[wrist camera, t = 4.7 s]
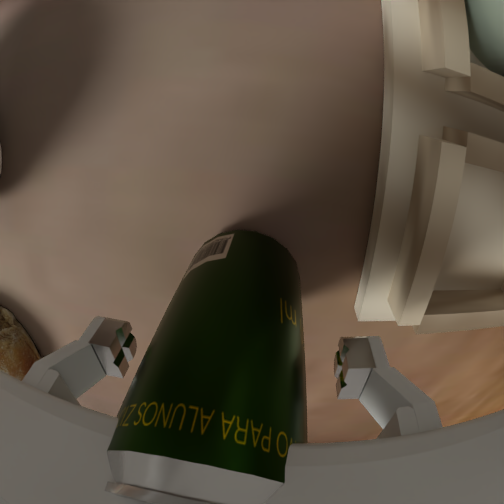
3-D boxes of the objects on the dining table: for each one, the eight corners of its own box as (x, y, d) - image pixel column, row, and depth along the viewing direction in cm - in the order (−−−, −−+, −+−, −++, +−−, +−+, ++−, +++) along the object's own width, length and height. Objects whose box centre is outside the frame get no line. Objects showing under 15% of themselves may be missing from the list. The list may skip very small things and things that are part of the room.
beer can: (174, 265, 15) (64, 480, 5) (248, 200, 13) (161, 491, 3) (243, 327, 17) (207, 535, 6) (319, 278, 15) (347, 530, 4)
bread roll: (58, 314, 24) (10, 339, 16) (52, 392, 25) (16, 427, 17) (-3, 278, 23) (-51, 290, 15) (-6, 354, 24) (-45, 376, 16)
